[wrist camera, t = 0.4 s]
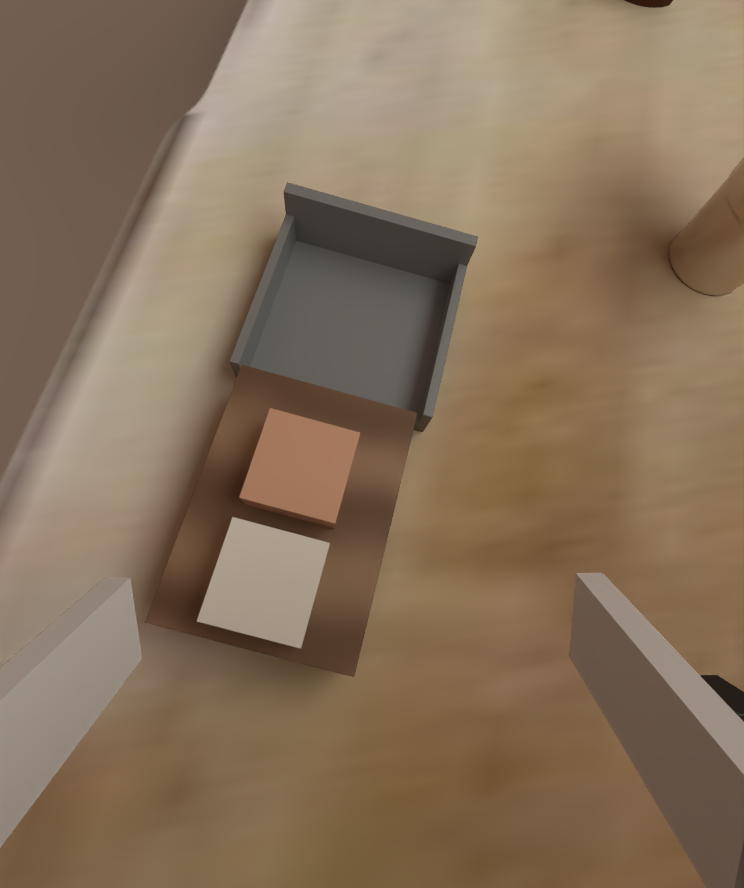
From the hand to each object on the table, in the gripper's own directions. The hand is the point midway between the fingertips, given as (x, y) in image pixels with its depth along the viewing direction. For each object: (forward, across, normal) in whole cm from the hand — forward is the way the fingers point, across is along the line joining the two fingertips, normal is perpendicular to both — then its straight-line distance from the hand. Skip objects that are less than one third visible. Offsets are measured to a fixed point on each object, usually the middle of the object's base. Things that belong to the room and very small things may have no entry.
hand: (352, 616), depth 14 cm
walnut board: (+16, +5, +3) cm, 17 cm away
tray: (+23, +1, -9) cm, 24 cm away
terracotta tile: (+13, +4, -1) cm, 14 cm away
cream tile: (+10, +5, +4) cm, 12 cm away
